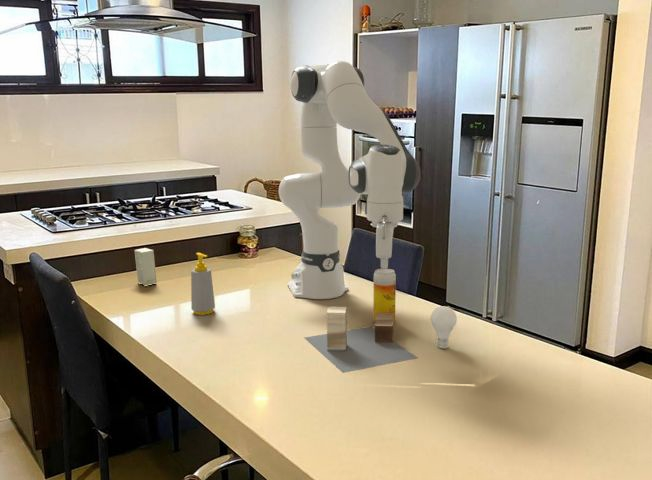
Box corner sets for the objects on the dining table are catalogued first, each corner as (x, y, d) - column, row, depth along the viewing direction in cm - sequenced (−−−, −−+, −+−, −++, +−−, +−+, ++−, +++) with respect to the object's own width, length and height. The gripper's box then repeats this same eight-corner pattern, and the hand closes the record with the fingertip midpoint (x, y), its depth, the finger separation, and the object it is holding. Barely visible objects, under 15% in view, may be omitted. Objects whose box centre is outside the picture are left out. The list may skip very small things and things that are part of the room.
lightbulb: (439, 342, 162) (440, 301, 160) (460, 348, 158) (462, 306, 155) (424, 348, 158) (425, 306, 155) (446, 355, 153) (447, 312, 151)
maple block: (345, 351, 156) (345, 312, 154) (327, 350, 156) (326, 312, 154) (346, 344, 160) (346, 307, 158) (329, 344, 161) (328, 306, 158)
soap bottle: (199, 317, 183) (195, 257, 179) (187, 312, 188) (183, 253, 184) (219, 312, 187) (216, 253, 183) (207, 306, 192) (204, 249, 188)
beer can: (394, 327, 173) (394, 274, 170) (372, 325, 174) (372, 273, 171) (396, 319, 179) (396, 268, 176) (374, 318, 180) (375, 267, 177)
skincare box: (157, 284, 216) (154, 250, 214) (145, 287, 213) (142, 252, 211) (148, 281, 221) (146, 247, 218) (136, 283, 218) (134, 249, 215)
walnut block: (392, 326, 160) (393, 313, 170) (374, 325, 160) (376, 312, 170) (392, 342, 161) (393, 329, 170) (374, 342, 161) (376, 328, 171)
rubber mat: (304, 339, 165) (303, 337, 165) (371, 327, 173) (371, 326, 173) (342, 374, 144) (342, 372, 144) (418, 359, 151) (418, 357, 151)
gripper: (397, 220, 144) (397, 279, 147) (397, 205, 164) (397, 256, 167) (370, 220, 145) (369, 278, 148) (373, 205, 164) (373, 256, 168)
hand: (384, 266), depth 158 cm, fingers closed
